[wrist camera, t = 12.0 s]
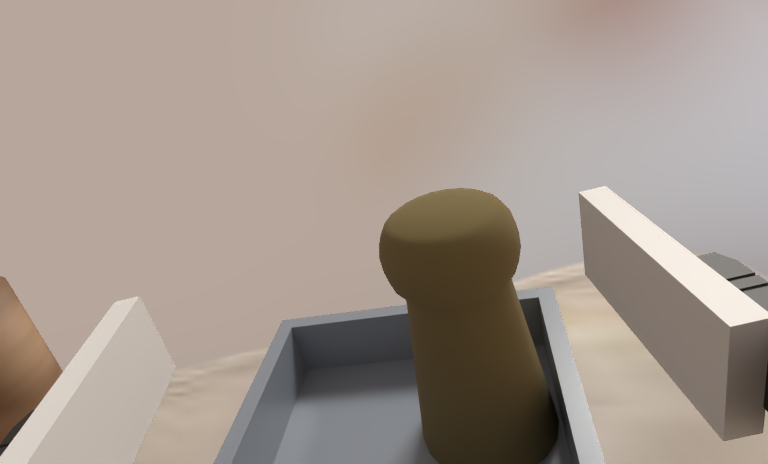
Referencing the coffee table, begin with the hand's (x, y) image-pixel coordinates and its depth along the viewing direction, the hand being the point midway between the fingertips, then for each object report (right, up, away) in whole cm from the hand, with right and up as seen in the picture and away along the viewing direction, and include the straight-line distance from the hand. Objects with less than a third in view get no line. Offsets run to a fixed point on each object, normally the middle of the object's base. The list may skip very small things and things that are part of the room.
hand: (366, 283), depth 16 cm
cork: (+5, -7, +8) cm, 12 cm away
